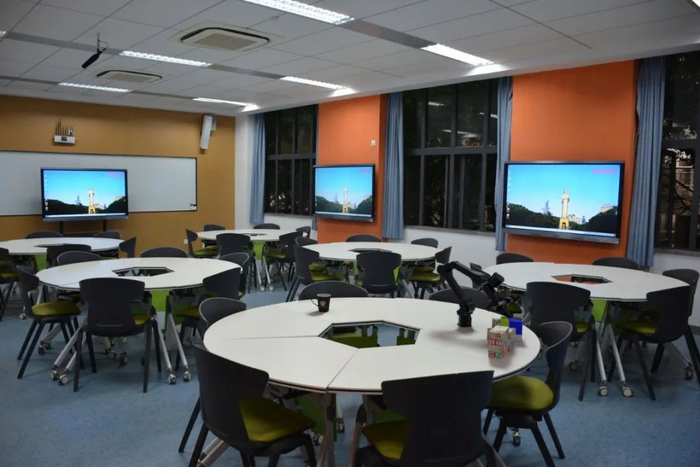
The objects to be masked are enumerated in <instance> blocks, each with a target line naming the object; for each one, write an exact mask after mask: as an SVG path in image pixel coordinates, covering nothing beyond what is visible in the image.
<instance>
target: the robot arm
mask: <svg viewBox="0 0 700 467" xmlns="http://www.w3.org/2000/svg"><path fill="white" fill-rule="evenodd" d="M453 270H455V271H458V272H459V273H461V274H463V275H465V276H466V277H468V278H469V279H470V280H471V282H473V284H475V285H476V286H479V287H478V292H479V293H481V292H483V293H484V294H485V295H486V297H487V298H486V299H487V301H489V303H488V304H487V305H486V306H485V309H486V310H487V312H491V311H492V309H493V308H495V309H494V311H495V312H497V313H499V314H501V315H502V316H506V317H508V318H509V317H511V314H510V311H509V309H508V306H509V305H510V304H511V303H512V302H513V301H514V299H513V298H512V297H511V293H512V291H511V290H510V289H509V288H506V289H503V291H498V290H497V288H499V287H500V286H501V285H502V284H503V283H504V282H505V281H506V280H505V277H504V276H502V274H500V273H498V272H497V271H495V272H493V274H492V275H491V276H488V275H487V274H486V273H483V272H480V271H476V270H473V269H472V268H470V267H468V266H466V265H464V264H463V263H461V262H460V261H459V260H452V261H449V262H448V263H442V264H438V265H437V266H436V273H437V274H438V275H439V276H440V277H441V278H442V279H444V280H445V282H446V284H448V286H449V288H450V289H451V291H452V293H453V294H454V296H455V297H456V299H457V301H458V307H459V308H458V309H457V310H456V315H457V316H458V318H457V319H458V322H457V323H456V324H457V325H458V326H459V327H462V328H463V327H464V328H465V327H466V328H467V327H473V325H472V322H473V317H472V315H473V313H474V312H475V311H476V306H477V305H476V302H475V301H474V300H473V297H468V296H467V295H466V294H465V293H464V291H463V289H462V288H461V286H460V284H459V283H458V282H457V280H456V279H455V277H454V274H453V273H454V271H453ZM481 285H482V286H481Z"/></svg>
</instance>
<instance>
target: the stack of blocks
mask: <svg viewBox="0 0 700 467" xmlns="http://www.w3.org/2000/svg"><path fill="white" fill-rule="evenodd" d="M513 347H514V341H513V329H510V328H509V327H504V326H497V325H496V326H495V327H494V328H493V329H492V330H490V331H489V341H488V350H487V351H488V352H487V354H488V355H487V357H489V358H492V359H499V360H502V359H503V358H505V356H506V355H507V354H508V353H509V351H511V350H512V349H513Z"/></svg>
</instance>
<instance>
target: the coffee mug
mask: <svg viewBox="0 0 700 467" xmlns="http://www.w3.org/2000/svg"><path fill="white" fill-rule="evenodd" d="M331 297H332V295H331V294H329V293H318V294H316V296H312V297H310V298H311V299H310V301H311V302H312V304H313V305H315V306H316V307H317V308H318V312H319V313H328V312H329V311H330V305H331ZM313 299H316V301H317V304H316V303H315V302H314V301H313Z"/></svg>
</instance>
